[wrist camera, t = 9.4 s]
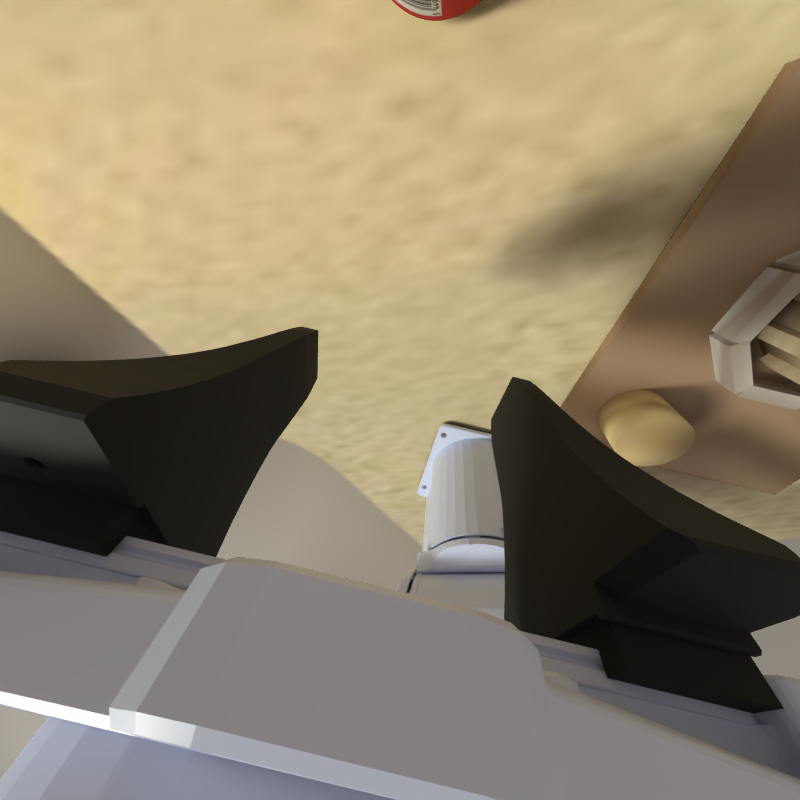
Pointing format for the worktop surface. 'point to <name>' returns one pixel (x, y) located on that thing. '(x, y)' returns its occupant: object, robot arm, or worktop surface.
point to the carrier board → (713, 323)
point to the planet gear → (783, 341)
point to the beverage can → (436, 8)
